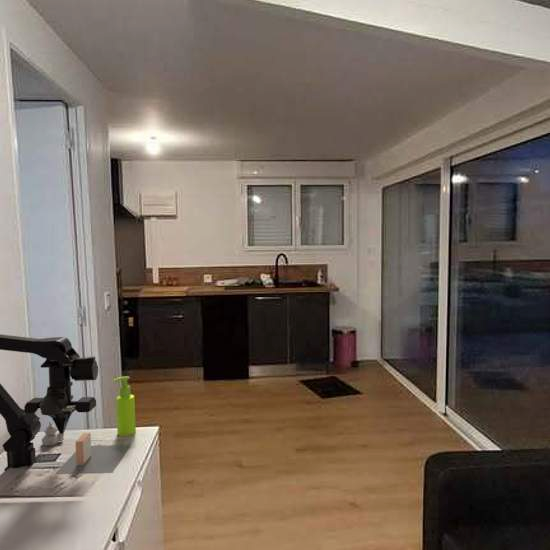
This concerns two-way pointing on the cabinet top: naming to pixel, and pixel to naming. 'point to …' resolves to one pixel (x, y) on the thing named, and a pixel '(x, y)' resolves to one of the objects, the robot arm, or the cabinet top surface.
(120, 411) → the soap dispenser
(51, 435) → the grey lumpy pointed piece
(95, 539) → the cabinet top surface
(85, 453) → the tile
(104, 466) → the slate board
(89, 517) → the cabinet top surface
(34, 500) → the cabinet top surface
